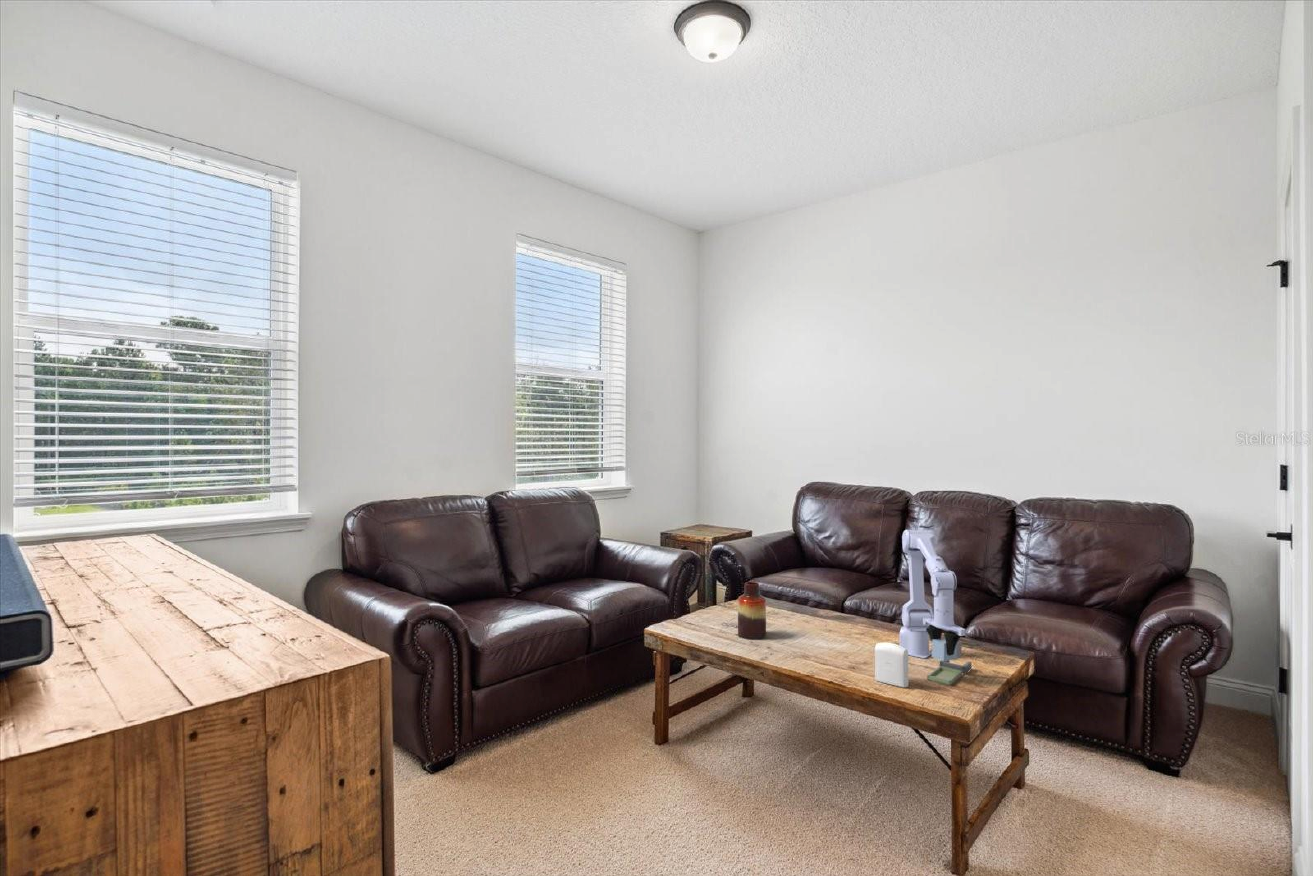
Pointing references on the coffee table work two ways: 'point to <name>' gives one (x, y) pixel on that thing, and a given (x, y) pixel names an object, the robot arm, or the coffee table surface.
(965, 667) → the bay
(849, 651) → the coffee table surface
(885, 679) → the photo printer
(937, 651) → the stepped two-tone block
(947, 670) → the tray
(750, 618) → the vase
